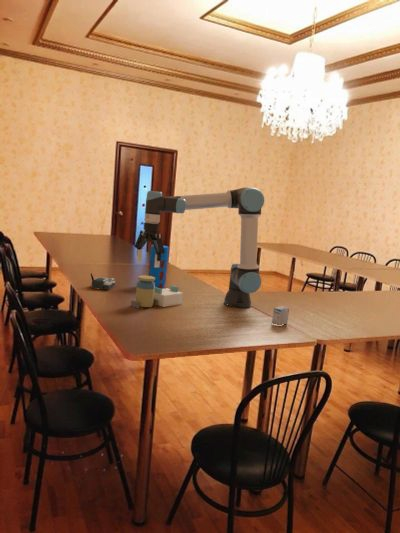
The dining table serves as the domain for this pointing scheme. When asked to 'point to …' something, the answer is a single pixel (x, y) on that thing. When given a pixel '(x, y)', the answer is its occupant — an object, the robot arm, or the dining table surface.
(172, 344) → the dining table surface
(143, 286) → the jar
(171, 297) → the block
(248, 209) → the robot arm
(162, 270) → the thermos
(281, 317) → the medicine box
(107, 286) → the communication device
